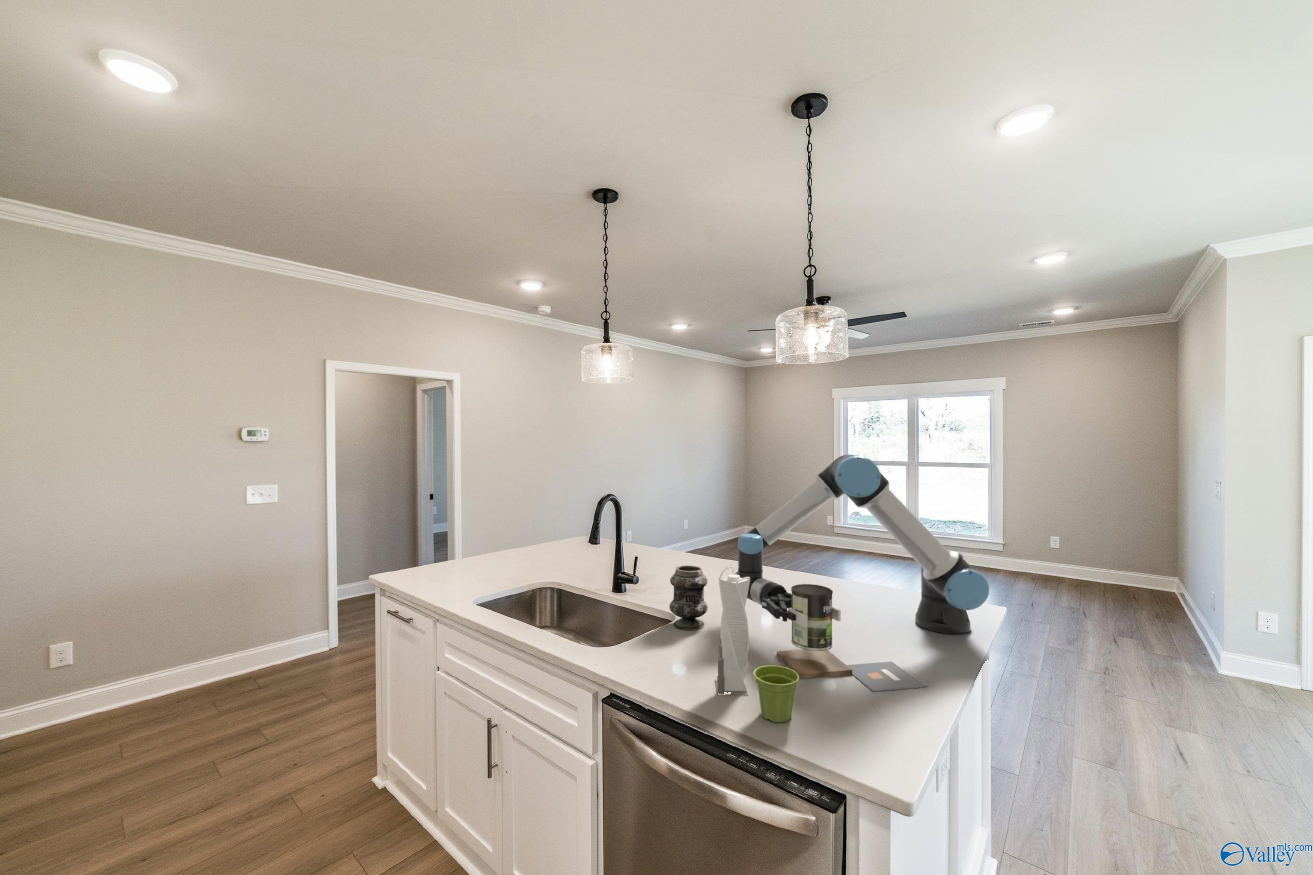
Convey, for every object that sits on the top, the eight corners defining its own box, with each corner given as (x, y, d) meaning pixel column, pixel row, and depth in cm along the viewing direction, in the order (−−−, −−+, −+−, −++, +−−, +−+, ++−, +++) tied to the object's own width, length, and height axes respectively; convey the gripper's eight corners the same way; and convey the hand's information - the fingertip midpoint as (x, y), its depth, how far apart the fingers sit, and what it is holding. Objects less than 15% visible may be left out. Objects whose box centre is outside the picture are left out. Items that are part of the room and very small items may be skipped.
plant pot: (748, 705, 114) (748, 665, 114) (790, 703, 115) (790, 663, 115) (760, 728, 105) (760, 685, 105) (806, 726, 106) (805, 683, 106)
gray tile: (891, 662, 136) (891, 661, 136) (927, 687, 122) (927, 686, 122) (841, 666, 134) (841, 665, 134) (873, 691, 120) (873, 690, 120)
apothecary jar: (714, 622, 166) (714, 566, 166) (696, 634, 156) (696, 574, 156) (681, 616, 172) (681, 561, 173) (662, 627, 162) (662, 569, 162)
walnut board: (825, 652, 143) (825, 647, 143) (852, 674, 129) (852, 669, 129) (776, 655, 140) (776, 651, 140) (799, 678, 127) (799, 673, 127)
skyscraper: (714, 679, 127) (714, 564, 127) (747, 679, 127) (747, 564, 127) (717, 696, 119) (717, 573, 119) (753, 696, 118) (752, 573, 119)
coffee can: (836, 641, 136) (836, 587, 136) (827, 654, 128) (827, 597, 128) (797, 633, 142) (797, 581, 142) (785, 645, 133) (785, 590, 133)
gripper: (800, 602, 156) (857, 627, 135) (736, 612, 146) (786, 640, 126) (800, 577, 156) (857, 598, 136) (736, 586, 147) (786, 609, 126)
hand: (823, 618), depth 131 cm, fingers closed on coffee can, 10 cm apart
